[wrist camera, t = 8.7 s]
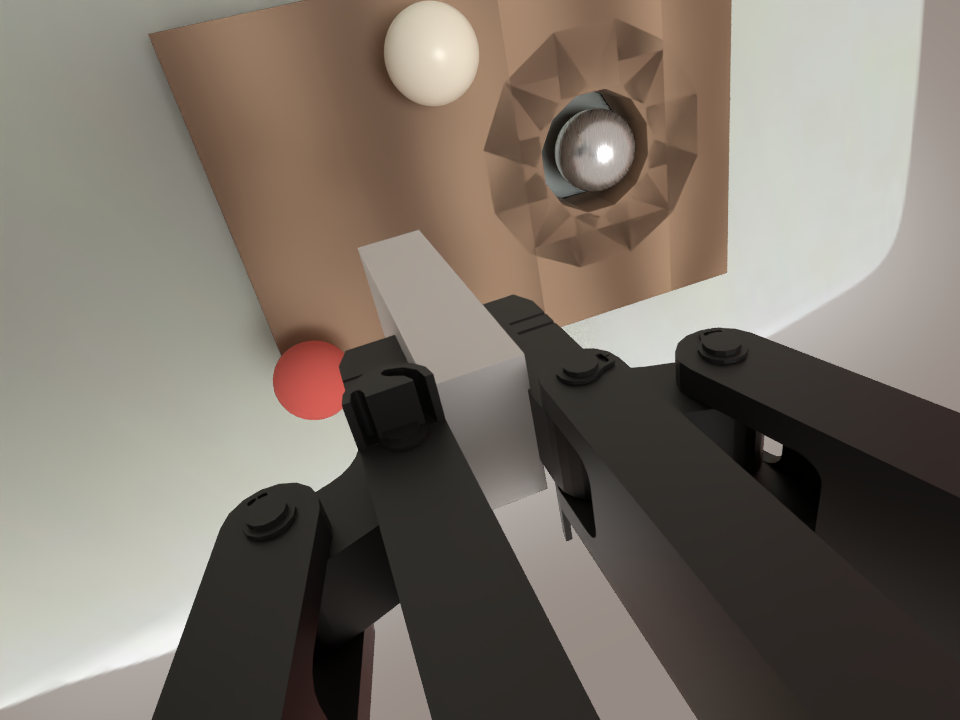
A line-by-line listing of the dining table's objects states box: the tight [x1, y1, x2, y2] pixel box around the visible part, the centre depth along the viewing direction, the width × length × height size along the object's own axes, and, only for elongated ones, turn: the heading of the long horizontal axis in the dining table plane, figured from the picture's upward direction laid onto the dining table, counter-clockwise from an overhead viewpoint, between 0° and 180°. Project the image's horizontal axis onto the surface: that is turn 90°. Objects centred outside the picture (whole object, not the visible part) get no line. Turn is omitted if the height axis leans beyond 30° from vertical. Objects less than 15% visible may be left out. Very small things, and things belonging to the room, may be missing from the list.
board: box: [148, 0, 731, 356], centre depth 25 cm, size 20×14×2 cm
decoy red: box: [273, 340, 345, 420], centre depth 23 cm, size 3×3×3 cm
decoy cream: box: [384, 0, 479, 106], centre depth 20 cm, size 3×3×3 cm
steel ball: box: [555, 108, 635, 191], centre depth 25 cm, size 3×3×3 cm
